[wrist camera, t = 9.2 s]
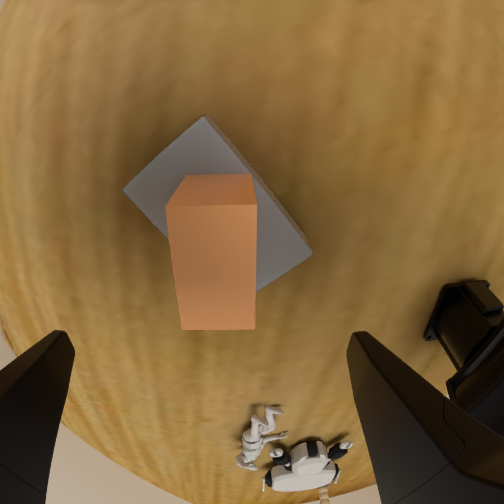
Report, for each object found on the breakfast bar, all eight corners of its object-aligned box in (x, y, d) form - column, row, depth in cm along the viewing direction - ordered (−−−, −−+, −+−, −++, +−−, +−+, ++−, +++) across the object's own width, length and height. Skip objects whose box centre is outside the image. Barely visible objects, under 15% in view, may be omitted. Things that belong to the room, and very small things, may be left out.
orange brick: (250, 272, 18) (255, 329, 14) (193, 273, 18) (182, 329, 14) (251, 173, 15) (257, 204, 11) (186, 175, 15) (165, 206, 11)
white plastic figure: (300, 398, 31) (288, 463, 33) (266, 382, 34) (260, 447, 36) (255, 432, 25) (249, 495, 27) (218, 411, 28) (220, 476, 30)
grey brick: (304, 232, 20) (313, 254, 18) (235, 279, 22) (235, 305, 19) (208, 113, 17) (202, 116, 14) (138, 176, 18) (121, 190, 15)
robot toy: (264, 432, 34) (260, 474, 41) (266, 461, 30) (262, 496, 36) (353, 423, 35) (331, 467, 41) (361, 449, 31) (336, 487, 37)
